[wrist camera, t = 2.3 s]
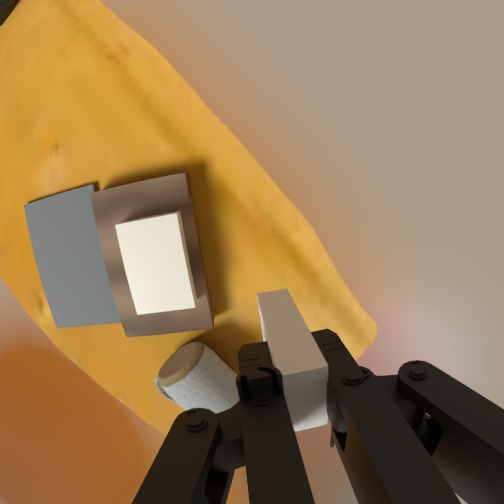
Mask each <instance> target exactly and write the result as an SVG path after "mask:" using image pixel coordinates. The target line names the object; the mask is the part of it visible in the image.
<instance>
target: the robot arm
mask: <svg viewBox="0 0 504 504" xmlns="http://www.w3.org/2000/svg"><path fill="white" fill-rule="evenodd" d="M17 1H18V0H0V25H1V24H2V23H3V22H4V20H5V19H6V18H7V16H8V15H9V13H10V12H11V11H12V9H13V7H14V6H15V4H16V2H17ZM257 300H258V307H259V314H260V321H261V328H262V335H263V341H264V342H259V343H253V344H246V345H242V347H241V349H240V350H239V352H238V359H239V371H240V373H239V374H238V375H237V377H236V386H237V390H238V395H239V401H238V402H237V403H236V404H235V405H234V406H233V407H231V408H229V409H227V410H225V411H222V412H219V413H217V414H216V413H214V412H213V411H211V410H210V409H206V408H192V409H189V410H186V411H184V412H183V413H181V414H179V415H178V417H177V418H176V419H175V421H174V422H173V424H172V426H171V428H170V430H169V432H168V434H167V436H166V438H165V440H164V442H163V444H162V446H161V448H160V450H159V452H158V454H157V456H156V458H155V460H154V462H153V464H152V465H151V468H150V469H149V471H148V473H147V475H146V477H145V479H144V481H143V483H142V485H141V487H140V489H139V491H138V493H137V495H136V497H135V498H134V501H133V502H132V504H226V501H227V497H228V493H229V490H230V486H231V483H232V479H233V475H234V470H235V469H238V468H240V467H243V466H246V473H247V482H248V492H249V502H250V504H315V503H314V499H313V496H312V492H311V488H310V485H309V481H308V478H307V474H306V471H305V467H304V464H303V460H302V457H301V453H300V449H299V446H298V442H297V439H296V435H295V431H300V430H304V429H309V428H313V427H318V426H322V425H326V424H327V417H329V419H330V422H331V438H330V445H331V447H334V443H335V445H336V447H337V450H338V453H339V455H340V458H341V460H342V462H343V465H344V468H345V470H346V473H347V475H348V478H349V480H350V483H351V485H352V488H353V491H354V493H355V495H356V498H357V501H358V503H359V504H461V503H460V501H459V499H458V498H457V496H456V495H455V493H456V494H457V495H458V496H460V497H461V498H462V499H463V500H464V501H465V502H467V503H468V504H504V409H502V408H501V407H499V406H498V405H496V404H494V403H493V402H491V401H489V400H488V399H486V398H485V397H483V396H482V395H480V394H478V393H477V392H475V391H474V390H472V389H470V388H469V387H467V386H466V385H464V384H462V383H461V382H459V381H457V380H456V379H454V378H453V377H451V376H450V375H448V374H446V373H445V372H443V371H442V370H440V369H438V368H437V367H435V366H433V365H432V364H430V363H427V362H425V361H419V360H416V361H410V362H407V363H404V364H403V365H402V366H401V367H400V369H399V371H398V375H388V376H376V375H374V374H373V372H371V371H370V370H369V369H368V368H365V367H362V366H358V364H357V363H356V361H355V360H354V358H353V357H352V355H351V354H350V353H349V351H348V350H347V348H346V347H345V345H344V344H343V342H341V339H340V338H339V336H338V335H337V334H336V333H335V332H333V331H331V330H329V329H324V330H319V331H314V332H310V331H309V329H308V327H307V325H306V323H305V321H304V319H303V318H302V316H301V314H300V312H299V310H298V308H297V306H296V305H295V303H294V301H293V299H292V297H291V295H290V294H289V292H288V290H287V289H282V290H276V291H270V292H264V293H258V294H257ZM426 413H427V414H428V415H430V416H428V415H427V414H426ZM453 491H454V492H455V493H454V492H453Z"/></svg>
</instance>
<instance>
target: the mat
mask: <svg viewBox="0 0 504 504" xmlns="http://www.w3.org/2000/svg"><path fill="white" fill-rule="evenodd" d="M93 192H96V188H95V184H91V185H87V186H84V187H80V188H77V189H73V190H70V191H66V192H63V193H60V194H57V195H53V196H50V197H47V198H44V199H41V200H38V201H35V202H32V203H29V204H26V205H24V207H25V213H26V219H27V224H28V229H29V234H30V239H31V243H32V248H33V252H34V256H35V260H36V264H37V267H38V271H39V275H40V278H41V281H42V285H43V288H44V291H45V294H46V298H47V301H48V304H49V306H50V309H51V312H52V315H53V318H54V320H55V323H56V326H57V328H60V327H75V326H89V325H101V324H113V323H122V322H121V319H120V316H119V313H118V309H117V306H116V303H115V300H114V296H113V293H112V289H111V286H110V282H109V278H108V275H107V271H106V267H105V263H104V259H103V255H102V250H101V246H100V242H99V237H98V232H97V227H96V222H95V217H94V212H93V206H92V200H91V194H90V193H93Z"/></svg>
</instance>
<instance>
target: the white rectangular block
mask: <svg viewBox="0 0 504 504" xmlns="http://www.w3.org/2000/svg"><path fill="white" fill-rule="evenodd" d="M115 227H116V232H117V237H118V241H119V246H120V250H121V255H122V259H123V263H124V267H125V272H126V275H127V279H128V283H129V287H130V291H131V294H132V298H133V301H134V305H135V308H136V312H137V315H140V314H149V313H157V312H165V311H174V310H181V309H189V308H196V303H197V296H196V291H195V286H194V282H193V277H192V272H191V267H190V262H189V257H188V251H187V246H186V241H185V235H184V230H183V224H182V218H181V212H180V211H177V212H171V213H166V214H160V215H155V216H149V217H144V218H139V219H134V220H129V221H124V222H121V223H118V224H116V225H115Z"/></svg>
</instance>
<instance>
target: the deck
mask: <svg viewBox="0 0 504 504" xmlns="http://www.w3.org/2000/svg"><path fill="white" fill-rule="evenodd" d="M90 194H91V200H92V206H93V212H94V217H95V222H96V227H97V232H98V237H99V242H100V246H101V250H102V255H103V259H104V263H105V267H106V271H107V275H108V278H109V282H110V286H111V289H112V293H113V296H114V300H115V303H116V306H117V309H118V313H119V316H120V319H121V322H122V325H123V328H124V331H125V334H126V337H138V336H149V335H159V334H169V333H178V332H187V331H195V330H203V329H210V328H213V326H214V315H213V310H212V305H211V300H210V295H209V290H208V285H207V280H206V275H205V270H204V264H203V259H202V253H201V248H200V242H199V237H198V231H197V225H196V219H195V213H194V207H193V201H192V194H191V188H190V181H189V174H188V173H179V174H174V175H168V176H163V177H158V178H153V179H149V180H144V181H139V182H135V183H130V184H126V185H122V186H117V187H113V188H109V189H105V190H101V191H97V192H93V193H90ZM177 211H180V212H181V218H182V224H183V230H184V235H185V241H186V246H187V251H188V257H189V262H190V267H191V272H192V277H193V282H194V286H195V291H196V296H197V303H196V308H189V309H181V310H174V311H165V312H157V313H149V314H140V315H137V312H136V308H135V305H134V301H133V298H132V294H131V291H130V287H129V283H128V279H127V275H126V272H125V267H124V263H123V259H122V255H121V250H120V246H119V241H118V237H117V232H116V227H115V225H116V224H118V223H121V222H124V221H129V220H134V219H139V218H144V217H149V216H155V215H160V214H166V213H171V212H177Z"/></svg>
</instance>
